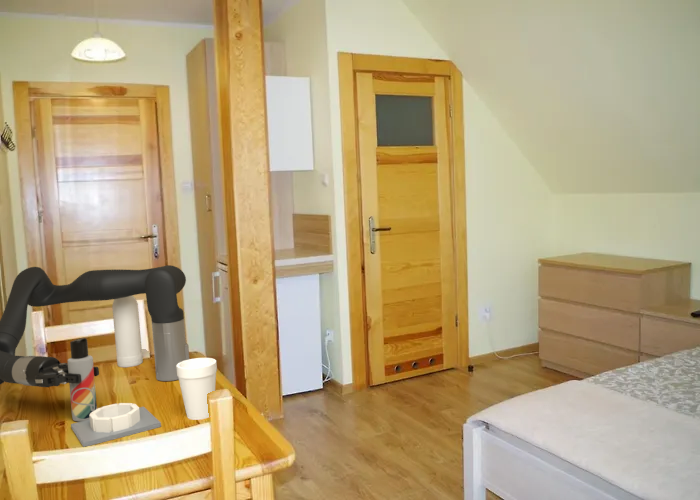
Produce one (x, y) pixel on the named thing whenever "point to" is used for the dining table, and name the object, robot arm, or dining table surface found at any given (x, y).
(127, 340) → the bottle
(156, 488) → the dining table surface
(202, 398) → the foam cup
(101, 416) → the socket
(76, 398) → the lotion bottle
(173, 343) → the robot arm
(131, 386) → the dining table surface
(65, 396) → the dining table surface
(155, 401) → the dining table surface
